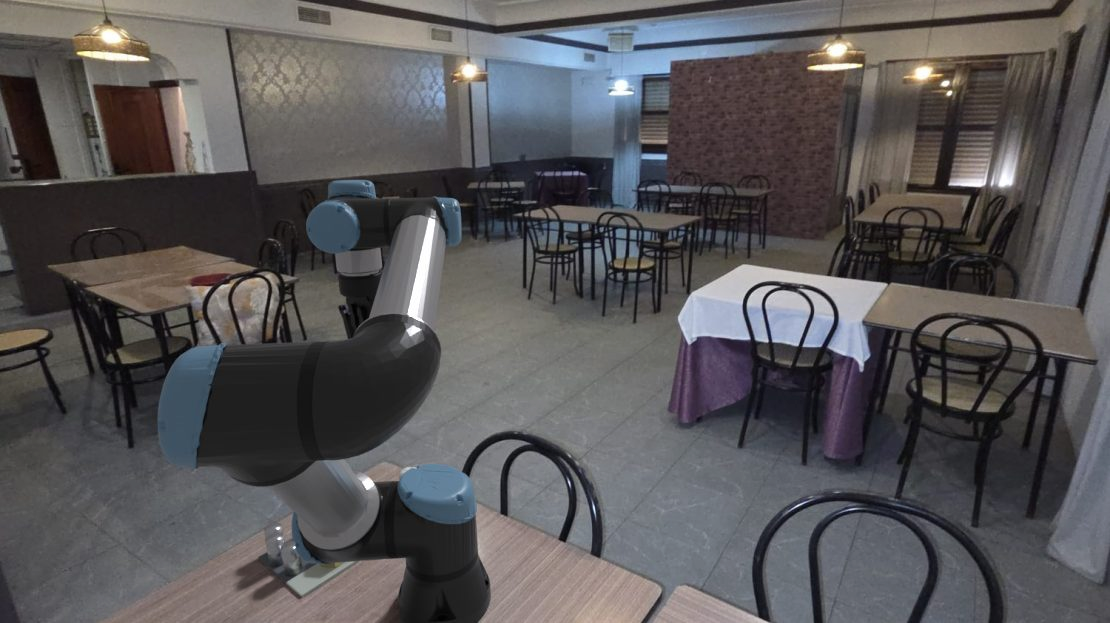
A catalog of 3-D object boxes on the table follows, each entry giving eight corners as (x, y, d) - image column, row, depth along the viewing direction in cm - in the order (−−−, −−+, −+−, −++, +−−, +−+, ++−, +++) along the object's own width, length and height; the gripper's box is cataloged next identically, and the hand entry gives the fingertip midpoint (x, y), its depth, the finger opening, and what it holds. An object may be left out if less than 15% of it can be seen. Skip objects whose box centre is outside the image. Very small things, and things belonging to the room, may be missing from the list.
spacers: (363, 534, 113) (360, 512, 111) (287, 580, 101) (283, 556, 100) (332, 514, 119) (329, 493, 118) (257, 555, 108) (253, 532, 106)
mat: (381, 546, 110) (381, 544, 110) (302, 597, 98) (301, 594, 98) (336, 516, 119) (336, 513, 119) (258, 559, 107) (258, 557, 107)
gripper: (401, 272, 100) (412, 397, 107) (357, 262, 108) (369, 380, 115) (364, 280, 95) (377, 412, 102) (319, 270, 102) (335, 393, 109)
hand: (373, 395), depth 108 cm, fingers closed
